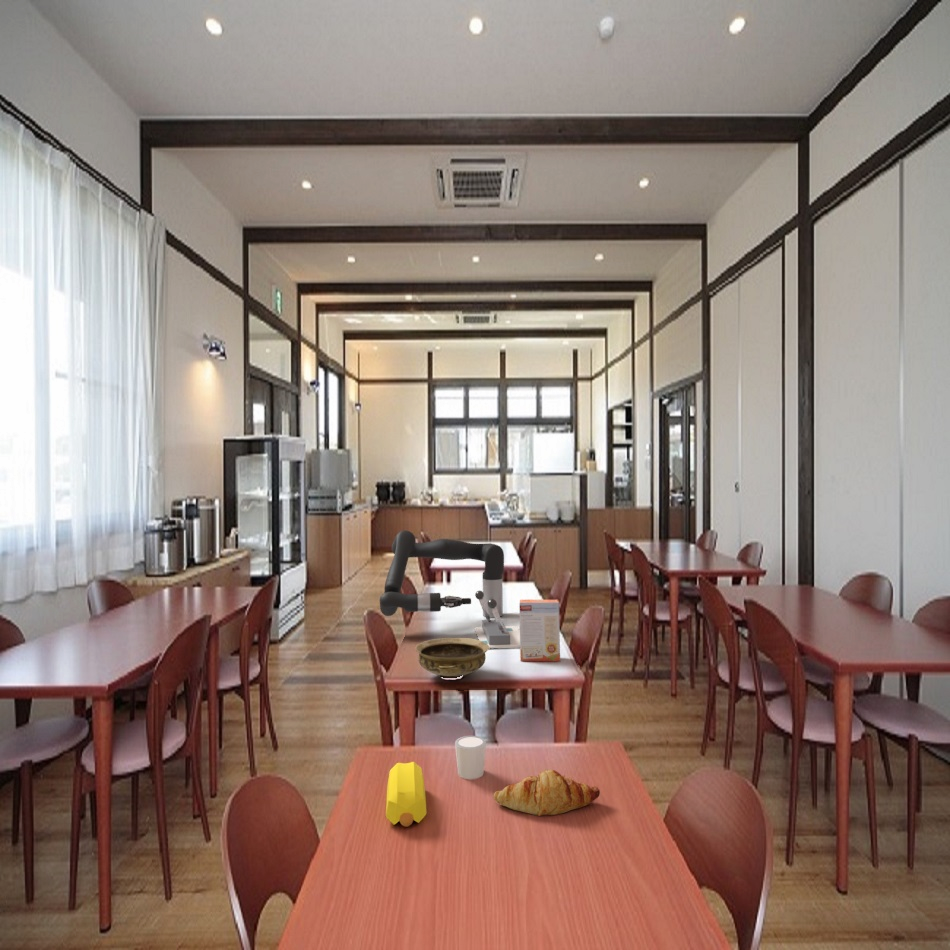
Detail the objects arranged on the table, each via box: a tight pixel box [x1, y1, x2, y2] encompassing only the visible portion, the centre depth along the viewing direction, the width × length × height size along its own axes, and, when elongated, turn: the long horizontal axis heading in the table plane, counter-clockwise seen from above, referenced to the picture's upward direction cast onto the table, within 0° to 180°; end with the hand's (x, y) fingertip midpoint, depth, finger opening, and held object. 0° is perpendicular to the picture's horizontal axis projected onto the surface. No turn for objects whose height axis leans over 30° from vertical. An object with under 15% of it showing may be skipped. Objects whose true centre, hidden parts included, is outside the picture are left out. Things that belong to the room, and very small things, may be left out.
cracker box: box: [519, 599, 561, 662], centre depth 222 cm, size 14×6×21 cm, turn 84°
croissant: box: [493, 769, 601, 817], centre depth 125 cm, size 21×10×8 cm, turn 91°
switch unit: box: [474, 619, 520, 650], centre depth 251 cm, size 30×18×4 cm, turn 6°
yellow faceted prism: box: [385, 761, 428, 827], centre depth 125 cm, size 18×7×8 cm
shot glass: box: [454, 735, 487, 780], centre depth 139 cm, size 7×7×7 cm
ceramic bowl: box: [414, 637, 490, 678], centre depth 204 cm, size 30×24×10 cm
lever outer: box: [488, 599, 505, 633], centre depth 242 cm, size 4×4×13 cm
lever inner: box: [474, 590, 492, 622], centre depth 260 cm, size 4×4×13 cm
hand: (470, 600), depth 259 cm, fingers closed
